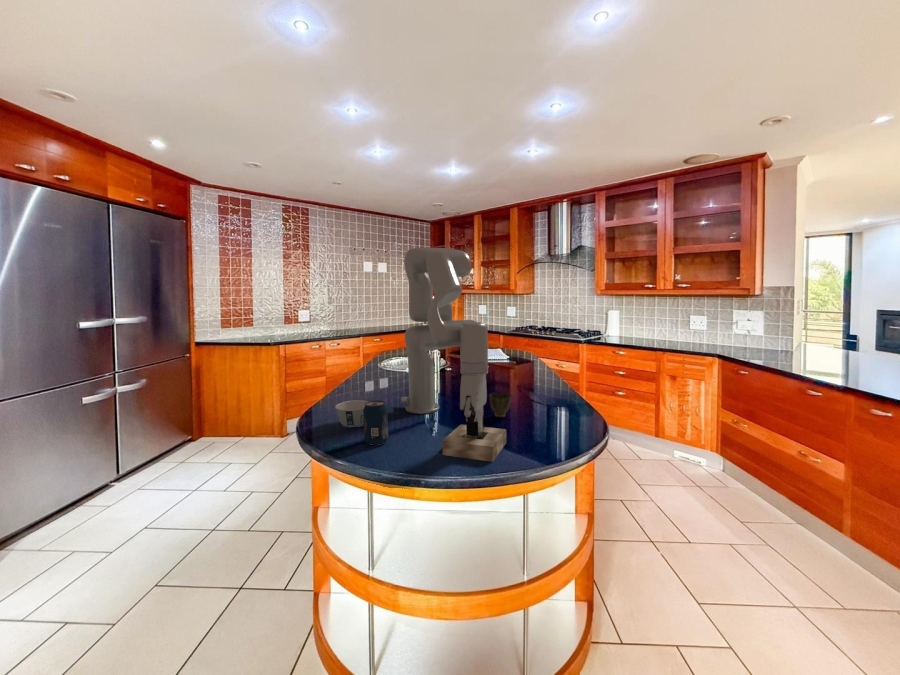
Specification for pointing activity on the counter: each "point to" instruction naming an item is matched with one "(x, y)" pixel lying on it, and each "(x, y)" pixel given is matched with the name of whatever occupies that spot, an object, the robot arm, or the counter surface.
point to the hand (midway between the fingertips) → (475, 431)
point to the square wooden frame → (474, 444)
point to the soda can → (375, 422)
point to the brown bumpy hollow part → (499, 403)
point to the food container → (351, 412)
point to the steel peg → (480, 428)
